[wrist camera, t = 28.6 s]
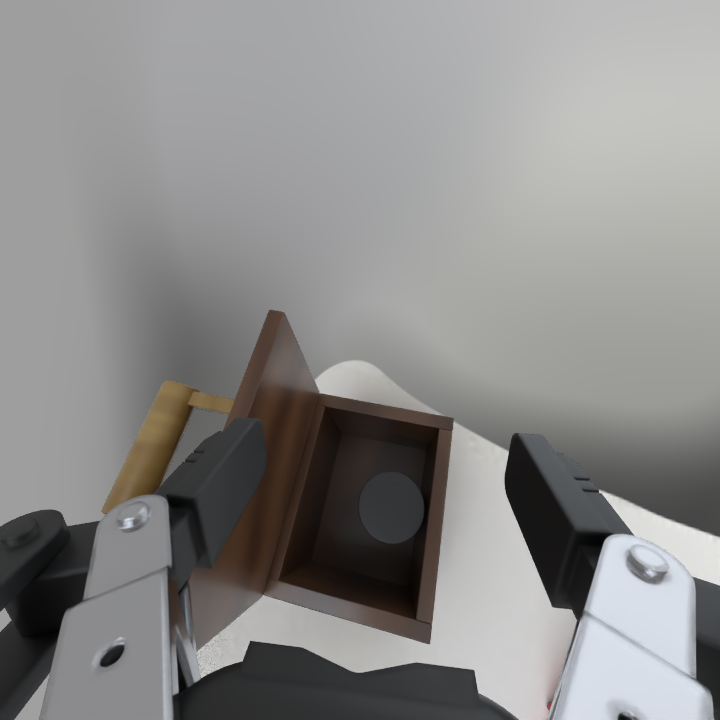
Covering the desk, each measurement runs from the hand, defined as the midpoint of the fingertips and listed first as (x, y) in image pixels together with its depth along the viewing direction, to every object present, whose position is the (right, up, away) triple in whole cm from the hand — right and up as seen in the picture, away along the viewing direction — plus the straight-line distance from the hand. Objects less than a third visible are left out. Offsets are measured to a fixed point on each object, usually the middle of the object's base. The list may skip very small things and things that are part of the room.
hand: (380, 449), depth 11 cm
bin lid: (-6, -4, +8) cm, 10 cm away
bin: (+1, -11, +23) cm, 25 cm away
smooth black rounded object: (+2, -11, +21) cm, 24 cm away
